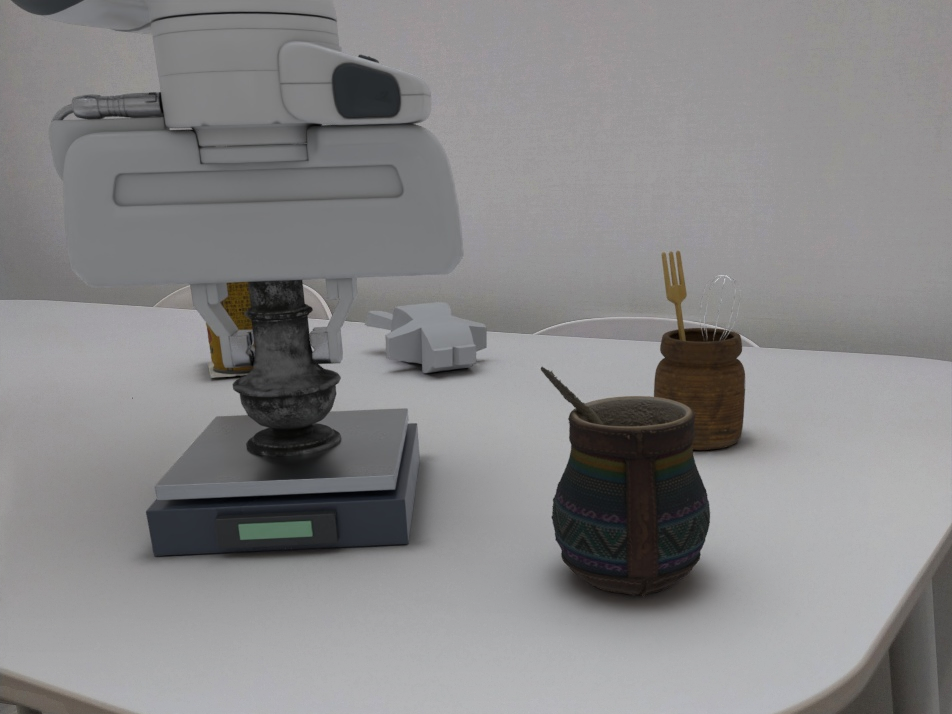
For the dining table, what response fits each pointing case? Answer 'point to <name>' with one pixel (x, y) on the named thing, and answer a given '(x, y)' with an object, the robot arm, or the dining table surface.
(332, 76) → the robot arm
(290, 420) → the salt shaker
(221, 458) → the scale pan
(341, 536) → the scale
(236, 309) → the condiment
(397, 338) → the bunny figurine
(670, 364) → the utensil holder
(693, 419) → the mate gourd
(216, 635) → the dining table surface
